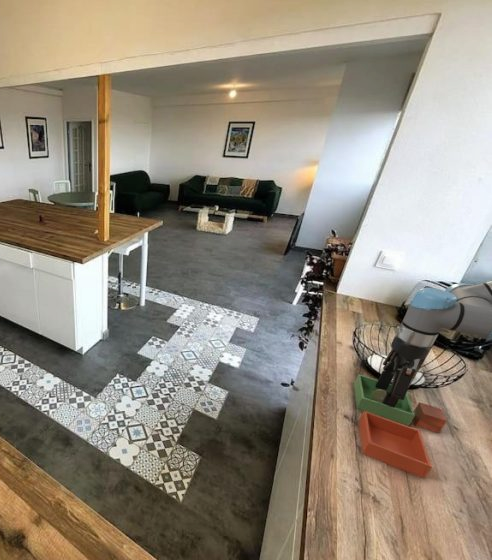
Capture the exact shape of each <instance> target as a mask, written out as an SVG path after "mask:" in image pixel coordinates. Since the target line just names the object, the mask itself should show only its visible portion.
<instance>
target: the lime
mask: <svg viewBox="0 0 492 560" xmlns="http://www.w3.org/2000/svg"><path fill="white" fill-rule="evenodd" d="M386 394H387V393H386V390H382V389H378V390H375V391H374V392H373V393H372V399H373V401H376V402H379V403H382V402H383V400H384V398H385V396H386Z"/></svg>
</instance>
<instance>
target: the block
mask: <svg viewBox="0 0 492 560" xmlns="http://www.w3.org/2000/svg"><path fill="white" fill-rule="evenodd" d="M413 411H414V414H415V416H414V418H413V422H414V425H415V426H416V427H419V428H422V429H424V430H428V431H430V432H433V433H436V434H440V432H441V431H442V430H443V428H444V427H445V425H446V424H447V422H448V420H447V418H446V415H445V413H444V411H443V409H442V408H440V407H436V406H433V405H430V404H427V403H423V402H422V401H418V403H417V405H416V407H415V408H414V409H413Z"/></svg>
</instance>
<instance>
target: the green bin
mask: <svg viewBox="0 0 492 560" xmlns="http://www.w3.org/2000/svg"><path fill="white" fill-rule="evenodd" d="M377 381H378V379H376V378H372V377H369V376H366V375H363V374H359V373H358V374H357V376H356V378H355V380H354V383H353V389H354V390H353V391H354V398H355V405H356V409H357V410H360V411H362V412H364V411H366V412H369V413H371V414H374V415H377V416H380V417H383V418H386V419H389V420H391V421H394V422H397V423H400V424H403V425H406V426H409V427H410V424H411V423H412V422H413V420H414V416H415V414H414V408H413V405H412V402H411V399H410V396H409V394H408V392H407V393H406V395H405V398H404V400H401V399H399V400H398V402H397V404H396V405H395V407H391V406H388V405H385V404H382V403H379V402H376V401H373V399H372V393H373V392H374V391H375V390H378V389H379V388H376V387H375V385H376V383H377ZM391 385H392V383H390V384H389V386H388V388H387V390H386V391H389V392H390V389H391Z"/></svg>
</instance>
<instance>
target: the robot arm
mask: <svg viewBox="0 0 492 560" xmlns="http://www.w3.org/2000/svg"><path fill="white" fill-rule="evenodd" d="M442 329H444V330H447V331H453V332H457V333H462V334H466V335H470V336H474V337H478V338H483V339H486V340H492V281H487V282H483V283H479V284H475V285H473V284H470V283H463V282H461V283H454V284H452V285H450V286H448V287H446V289H445V290H443V289H440V288H433V287H423V288H420V289H418V290H417V291H416V293H415V294H414V296H413V297H412V300H411V301H410V303H409V306H408V308H407V311H406V313H405V315H404V317H403V319H402V321H401V323H400V325H397V326H396V330H397V332H396V334H395V335H394V336H393V339H392V340H391V341H392V342H391V343H390V347H391V350H390V352H389V353H388V354H387V356H386V357H385V358H384V361H383V362H382V365H383V367H382V370H381V373H380V376H379V378H378V379H377V380H378V381H377V383H376V385H375V387H376V388H379V389H382V390H387V388H388V386H389V384H392V385H391V389H390V392H389V391H386V393H387V394H386V396H385V398H384V400H383V402H382V404H385V405H388V406H391V407H395V405H396V404H397V402H398V400H399V399H401V400H404V398H405V395H406V393H408V390H409V388H410V386H411V384H410V382H411V380H412V377H413V376H414V374H415V372H416V369H412V367H414V364H415V361H414V360H416V359H423V358H425V357H426V355H427V354H428V352H429V350H430V346H432V347H433V345H434V343H435V342H436V340H437V338H438V336H439V334H440V332H441V331H442ZM430 351H431V350H430ZM429 353H430V352H429ZM428 355H429V354H428ZM428 355H427V356H428ZM426 358H427V357H426ZM398 368H399V369H401V370H398ZM391 372H392V373H391ZM393 373H395V374H393ZM393 376H394V378H393ZM392 378H393V381H392V382H391V380H392ZM409 385H410V386H409Z"/></svg>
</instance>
